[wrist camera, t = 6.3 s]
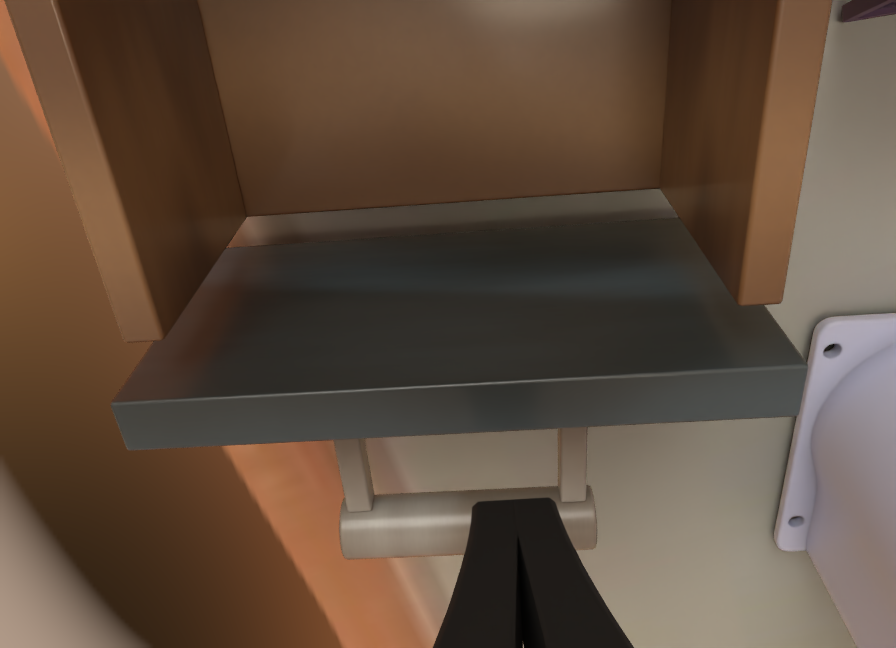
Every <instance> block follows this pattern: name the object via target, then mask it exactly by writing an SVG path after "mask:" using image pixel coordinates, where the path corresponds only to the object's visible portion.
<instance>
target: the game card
mask: <svg viewBox="0 0 896 648" xmlns="http://www.w3.org/2000/svg"><path fill="white" fill-rule="evenodd" d="M892 14H896V0H852V1H850V2H848V3H846V4H844V5H843V6H842V17H843V22H851V21H857V20H863V19H869V18H875V17H880V16H886V15H892Z"/></svg>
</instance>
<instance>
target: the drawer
mask: <svg viewBox="0 0 896 648" xmlns="http://www.w3.org/2000/svg"><path fill="white" fill-rule="evenodd" d="M4 1H5V4H6V6H7V9H8V12H9V15H10V18H11V21H12V24H13V26H14V29H15V32H16V35H17V38H18V41H19V44H20V46H21V49H22V52H23V55H24V58H25V61H26V64H27V66H28V69H29V72H30V75H31V78H32V81H33V84H34V86H35V89H36V92H37V95H38V98H39V101H40V103H41V106H42V109H43V112H44V115H45V118H46V121H47V123H48V126H49V129H50V132H51V135H52V138H53V141H54V143H55V146H56V149H57V152H58V155H59V158H60V161H61V163H62V166H63V169H64V172H65V175H66V178H67V181H68V183H69V186H70V189H71V192H72V195H73V197H74V201H75V203H76V206H77V209H78V212H79V215H80V218H81V221H82V223H83V226H84V229H85V232H86V235H87V238H88V241H89V243H90V246H91V249H92V252H93V255H94V258H95V261H96V263H97V266H98V269H99V272H100V275H101V277H102V280H103V283H104V286H105V289H106V292H107V295H108V297H109V301H110V303H111V306H112V309H113V312H114V315H115V318H116V320H117V323H118V326H119V329H120V332H121V334H122V337H123V340H124V341H125V342H127V343H130V342H146V341H153V343H152V344H151V346H150V347H149V349H148V350H147V352H146V353H145V354H144V356H143V357H142V359H141V360H140V362H139V363H138V365H137V366H136V367H135V369H134V370H133V372H132V373H131V375H130V376H129V377H128V379H127V381H126V382H125V383H124V385H123V386H122V387H121V389H120V390H119V392H118V393H117V395H116V396H115V398H114V399H113V400H112V402H111V408H112V411H113V413H114V416H115V418H116V421H117V424H118V426H119V429H120V431H121V434H122V437H123V440H124V442H125V445H126V448H127V449H128V450H148V449H169V448H186V447H187V448H188V447H208V446H227V445H246V444H266V443H285V442H305V441H324V440H333V441H334V446H335V451H336V456H337V461H338V466H339V471H340V476H341V481H342V486H343V491H344V496H345V498H344V499H343V502H342V505H341V510H340V521H339V533H340V544H341V550H342V553H343V556H344V558H345V559H347V560H351V559H375V558H399V557H422V556H446V555H464V554H465V550H466V546H467V541H468V536H469V531H470V524H471V515H472V506H474V505H475V504H476V503H477V502H478V501H495V500H512V499H529V498H546V497H549V498H551V499H552V500H553V501H555V502H556V505H557V508H558V511H559V514H560V517H561V519H562V522H563V524H564V527H565V529H566V531H567V533H568V536H569V538H570V540H571V542H572V544H573V546H574V548H575V550H588V549H595V548H596V544H597V519H596V509H595V502H594V497H593V492H592V489H591V487H590V486H589V485H586V482H587V429H588V427H597V426H616V425H636V424H655V423H675V422H694V421H714V420H733V419H753V418H772V417H792V416H798V415H799V412H800V407H801V402H802V397H803V392H804V387H805V382H806V376H807V371H808V364H807V363H806V361H805V360H804V359H803V357H802V356H801V355H800V353H799V352H798V350H797V349H796V348H795V346H794V345H793V344H792V342H791V341H790V340H789V338H788V337H787V335H786V334H785V333H784V331H783V330H782V329H781V327H780V326H779V325H778V323H777V322H776V320H775V319H774V318H773V316H772V315H771V314H770V312H769V311H768V310H767V308H766V307H765V306H764V305H768V304H779V303H781V302H782V299H783V293H784V287H785V281H786V275H787V269H788V263H789V257H790V251H791V245H792V239H793V233H794V227H795V221H796V215H797V209H798V203H799V197H800V191H801V185H802V179H803V173H804V167H805V161H806V155H807V149H808V143H809V137H810V131H811V125H812V119H813V113H814V107H815V101H816V95H817V89H818V83H819V77H820V71H821V65H822V59H823V53H824V47H825V41H826V35H827V29H828V23H829V17H830V11H831V5H832V0H4ZM658 188H660V189H661V191H662V192H663V194H664V195H665V197H666V198H667V200H668V201H669V203H670V204H671V206H672V207H673V209H674V210H675V212H676V213H677V215H678V216H679V218H670V219H655V220H640V221H625V222H610V223H595V224H580V225H565V226H550V227H535V228H520V229H505V230H490V231H475V232H460V233H445V234H430V235H415V236H399V237H384V238H369V239H354V240H339V241H324V242H309V243H294V244H279V245H264V246H249V247H234V248H226V247H227V245H228V244H229V243H230V241H231V240H232V238H233V237H234V235H235V234H236V232H237V231H238V229H239V228H240V226H241V225H242V223H243V222H244V220H245V219H246V217H251V216H266V215H280V214H295V213H309V212H324V211H338V210H353V209H368V208H382V207H397V206H411V205H426V204H440V203H455V202H469V201H484V200H498V199H513V198H527V197H542V196H556V195H571V194H586V193H600V192H615V191H629V190H644V189H658ZM539 429H558V486H549V487H528V488H507V489H485V490H464V491H443V492H422V493H400V494H379V495H374V490H373V484H372V478H371V472H370V466H369V461H368V455H367V449H366V443H365V438H383V437H402V436H422V435H441V434H461V433H480V432H500V431H519V430H539Z"/></svg>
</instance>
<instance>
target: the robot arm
mask: <svg viewBox="0 0 896 648" xmlns="http://www.w3.org/2000/svg"><path fill="white" fill-rule="evenodd" d="M830 344H835V346H834V348H832V349H831V350H830V351H826V352H824V349H825V348H826V347H827V346H828V345H830ZM807 364H808V371H807V376H806V382H805V387H804V392H803V397H802V402H801V407H800V412H799V415H798V416H797V418H796V423H795V428H794V433H793V439H792V444H791V449H790V454H789V459H788V464H787V469H786V474H785V480H784V485H783V490H782V495H781V500H780V505H779V510H778V516H777V521H776V526H775V531H774V540H775V543H776V545H777V546H778V548H779V549H781V550H783V551H807V553H808V555H809V556H810V558H811V560H812V562H813V564H814V566H815V568H816V570H817V572H818V574H819V576H820V578H821V579H822V581H823V583H824V585H825V587H826V589H827V591H828V593H829V595H830V597H831V599H832V600H833V602H834V604H835V606H836V608H837V610H838V612H839V614H840V616H841V618H842V620H843V622H844V623H845V625H846V627H847V629H848V631H849V633H850V635H851V637H852V639H853V641H854V643H855V644H856V646H857V648H896V313H884V314H867V315H850V316H833V317H829V318H826V319H824V320H822V321H820V322H819V323H818V324H817V325H816V327H815V329H814V331H813V336H812V341H811V346H810V351H809V357H808V362H807ZM795 516H797V517H795ZM792 517H795V518H792ZM791 518H792V519H791ZM523 644H524V648H634V647H633V645H632V644H631V642H630V641H629V639H628V638H627V636H626V635H625V633H624V632H623V630H622V629H621V627H620V626H619V624H618V623H617V621H616V620H615V618H614V617H613V615H612V614H611V612H610V610H609V609H608V607H607V606H606V604H605V602H604V600H603V599H602V597H601V595H600V594H599V592H598V590H597V589H596V587H595V585H594V583H593V582H592V580H591V578H590V577H589V575H588V573H587V571H586V569H585V567H584V566H583V564H582V562H581V560H580V558H579V556H578V554H577V552H576V550H575V548H574V546H573V544H572V542H571V540H570V538H569V536H568V533H567V531H566V529H565V527H564V524H563V522H562V519H561V517H560V514H559V511H558V508H557V505H556V502H555V501H553V500H552V499H551V498H549V497H546V498H529V499H512V500H495V501H478V502H477V503H476V504H475V505H474V506H472V515H471V524H470V531H469V536H468V541H467V546H466V550H465V554H464V558H463V562H462V566H461V569H460V572H459V576H458V579H457V582H456V585H455V588H454V592H453V595H452V598H451V601H450V604H449V607H448V610H447V613H446V615H445V618H444V620H443V623H442V626H441V628H440V631H439V633H438V636H437V638H436V641H435V644H434V646H433V648H523Z"/></svg>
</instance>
